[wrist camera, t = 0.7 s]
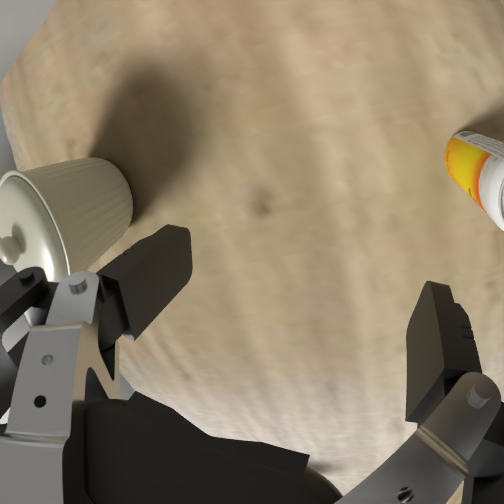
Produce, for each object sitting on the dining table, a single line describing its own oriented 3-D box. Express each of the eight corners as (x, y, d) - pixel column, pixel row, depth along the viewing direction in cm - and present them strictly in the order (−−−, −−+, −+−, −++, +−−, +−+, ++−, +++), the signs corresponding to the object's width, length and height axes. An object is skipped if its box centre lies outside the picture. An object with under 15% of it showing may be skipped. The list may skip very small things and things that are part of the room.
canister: (64, 198, 49) (-27, 248, 32) (94, 117, 39) (-27, 153, 22) (126, 265, 51) (39, 339, 33) (171, 193, 41) (50, 268, 23)
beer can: (452, 191, 28) (502, 253, 16) (434, 139, 26) (485, 169, 14) (495, 175, 25) (562, 227, 13) (479, 123, 24) (551, 144, 11)
